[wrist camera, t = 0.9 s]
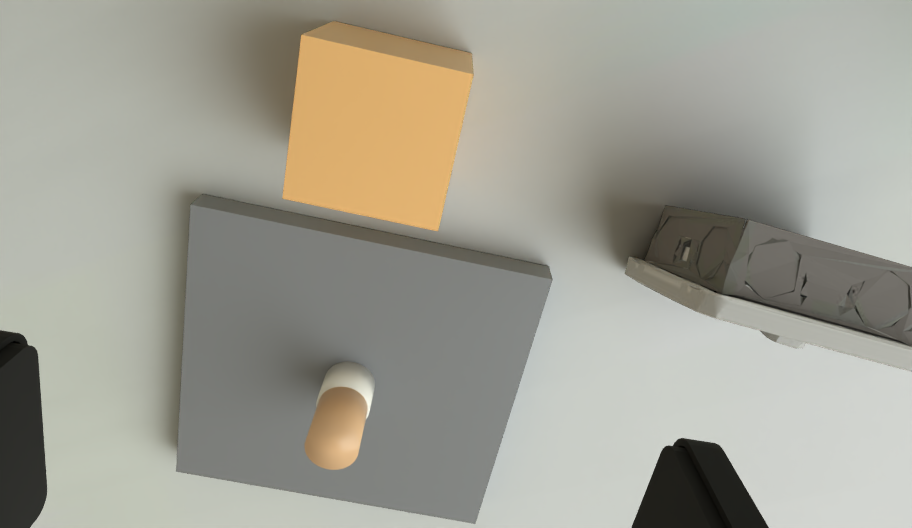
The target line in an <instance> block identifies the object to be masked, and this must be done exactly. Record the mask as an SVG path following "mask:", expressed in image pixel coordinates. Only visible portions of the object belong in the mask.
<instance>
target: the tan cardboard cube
mask: <svg viewBox="0 0 912 528" xmlns="http://www.w3.org/2000/svg"><path fill="white" fill-rule="evenodd" d="M473 75H474V73H473V61H472V53H468V52H464V51H460V50H456V49H451V48H447V47H443V46H438V45H434V44H430V43H426V42H421V41H417V40H413V39H409V38H404V37H400V36H396V35H391V34H387V33H383V32H379V31H374V30H370V29H366V28H361V27H357V26H353V25H349V24H344V23H340V22H336V21H333V22H330V23H328V24H325V25H323V26H321V27H318V28H316V29H314V30H311V31H309V32H306V33H304V34H302V35H301V42H300V51H299V59H298V68H297V77H296V85H295V94H294V103H293V111H292V120H291V128H290V137H289V146H288V154H287V163H286V172H285V180H284V189H283V198H282V199H287V200H291V201H296V202H301V203H306V204H310V205H315V206H320V207H325V208H329V209H334V210H339V211H344V212H348V213H353V214H358V215H363V216H367V217H372V218H377V219H382V220H386V221H391V222H396V223H401V224H405V225H410V226H415V227H420V228H424V229H429V230H434V231H438V229H439V225H440V220H441V216H442V212H443V207H444V203H445V198H446V194H447V190H448V185H449V181H450V176H451V172H452V167H453V163H454V159H455V154H456V150H457V145H458V141H459V137H460V132H461V128H462V123H463V119H464V115H465V110H466V106H467V101H468V97H469V92H470V88H471V84H472V79H473Z"/></svg>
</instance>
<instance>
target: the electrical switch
mask: <svg viewBox="0 0 912 528" xmlns="http://www.w3.org/2000/svg"><path fill="white" fill-rule="evenodd" d="M744 222H745V219H743V218H737V217H731V216H725V215H719V214H713V213H708V212H702V211H696V210H690V209H684V208H678V207H672V206H666V205H665V208H664V211H663V214H662V218H661V221H660V224H659V227H658V230H657V231H656V233H655V234H654V236H653V238H652V241H651V244H650V247H649V251H648V253H647V255H646V257H645V259H644V260H642V259H638V258H634V257H629V258H628V262H627V266H626V270H625V274H626V275H627V276H629V277H631V278H632V279H634V280H635V281H637V282H639V283H641V284H643V285H644V286H646V287H648V288H650V289H652V290H654V291H656V292H658V293H660V294H662V295H664V296H666V297H668V298H669V299H671V300H673V301H675V302H677V303H680V304H682V305H684V306H686V307H688V308H690V309H692V310H694V311H696V312H699V313H701V314H704V315H707V316H710V317H713V318H716V319H719V320H723V321H727V322H730V323H734V324H738V325H741V326H745V327H749V328H752V329H756V330H759V331H761V332H762V333H763V334H764V335H765V336H766V337H767V338H769V339H771V340H772V341H774V342H777V343H780V344H783V345H786V346H790V347H793V348H796V349H799V348H803V347H804V346H805V344H806V343H807V344H811V345H815V346H819V347H822V348H826V349H830V350H833V351H837V352H841V353H844V354H848V355H852V356H855V357H859V358H863V359H867V360H870V361H874V362H878V363H881V364H885V365H889V366H892V367H896V368H900V369H903V370H907V371H911V372H912V267H909V266H906V265H903V264H899V263H896V262H892V261H889V260H885V259H882V258H879V257H875V256H872V255H868V254H865V253H861V252H858V251H855V250H851V249H848V248H844V247H841V246H837V245H834V244H831V243H827V242H824V241H820V240H817V239H813V238H810V237H807V236H803V235H800V234H796V233H793V232H789V231H786V230H783V229H779V228H776V227H772V226H769V225H765V224H762V223H759V222H755V221H752V220H748V219H747V222H746V224H745V227H744V229H743V226H744Z"/></svg>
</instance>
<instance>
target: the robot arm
mask: <svg viewBox="0 0 912 528" xmlns="http://www.w3.org/2000/svg"><path fill="white" fill-rule="evenodd" d="M46 496H47V480H46V466H45V451H44V436H43V422H42V407H41V392H40V377H39V363H38V354H37V350H36V349H35V347H33V346H29V345H28V344H27V340H26V339H25V337H24V336H23V335H21V334H19V333H13V332H7V331H0V528H30V527H31V525H32V524H33V523H34V522H35V520H36V519H37V518H38V516H39V515H40V513H41V511H42V509H43V506H44V504H45V501H46ZM632 528H769V527H768V526H767V524H766V522H765V521H764V519H763V517H762V515H761V514H760V512H759V510H758V509H757V507H756V505H755V504H754V502H753V500H752V498H751V497H750V495H749V493H748V492H747V490H746V488H745V486H744V485H743V483H742V481H741V480H740V478H739V476H738V475H737V473H736V471H735V469H734V468H733V466H732V464H731V463H730V461H729V459H728V457H727V456H726V454H725V452H724V451H723V449H722V448H721V447H720V446H719V445H718V444H715V443H710V442H704V441H697V440H691V439H685V438H681V439H678V440H677V441H676V442H675V443H674V445H673V446H666V447H664V448H663V450H662V452H661V454H660V457H659V459H658V462H657V464H656V467H655V469H654V472H653V474H652V477H651V479H650V482H649V485H648V487H647V490H646V492H645V495H644V497H643V500H642V502H641V505H640V507H639V510H638V513H637V515H636V518H635V520H634V523H633V525H632Z"/></svg>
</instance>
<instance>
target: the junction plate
mask: <svg viewBox="0 0 912 528" xmlns="http://www.w3.org/2000/svg"><path fill="white" fill-rule="evenodd" d="M551 283H552V276H551V273H550V269H549V266H545V265H540V264H535V263H530V262H525V261H521V260H516V259H511V258H506V257H502V256H497V255H492V254H487V253H482V252H478V251H473V250H468V249H463V248H458V247H454V246H449V245H444V244H439V243H435V242H430V241H425V240H420V239H415V238H411V237H406V236H401V235H396V234H392V233H387V232H382V231H377V230H372V229H368V228H363V227H358V226H353V225H348V224H344V223H339V222H334V221H329V220H325V219H320V218H315V217H310V216H305V215H301V214H296V213H291V212H286V211H281V210H277V209H272V208H267V207H262V206H258V205H253V204H248V203H243V202H238V201H234V200H229V199H224V198H219V197H215V196H210V195H205V194H202V195H201V196H200V197H199V198H197V199H196V200H195V201H194V202H193V203H192V204H191V205H190V222H189V241H188V260H187V278H186V297H185V316H184V334H183V353H182V372H181V390H180V409H179V428H178V446H177V465H176V472H182V473H187V474H193V475H199V476H205V477H210V478H216V479H222V480H227V481H233V482H239V483H245V484H250V485H256V486H262V487H268V488H273V489H279V490H285V491H290V492H296V493H302V494H308V495H313V496H319V497H325V498H331V499H336V500H342V501H348V502H353V503H359V504H365V505H371V506H376V507H382V508H388V509H393V510H399V511H405V512H411V513H416V514H422V515H428V516H434V517H439V518H445V519H451V520H456V521H462V522H468V523H474V524H475V523H476V520H477V516H478V513H479V510H480V507H481V504H482V501H483V498H484V494H485V491H486V488H487V485H488V482H489V479H490V475H491V472H492V469H493V466H494V463H495V460H496V456H497V453H498V450H499V447H500V444H501V441H502V438H503V434H504V431H505V428H506V425H507V422H508V419H509V415H510V412H511V409H512V406H513V403H514V400H515V396H516V393H517V390H518V387H519V384H520V381H521V378H522V374H523V371H524V368H525V365H526V362H527V359H528V355H529V352H530V349H531V346H532V343H533V340H534V336H535V333H536V330H537V327H538V324H539V321H540V318H541V314H542V311H543V308H544V305H545V302H546V299H547V295H548V292H549V289H550V286H551Z"/></svg>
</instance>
